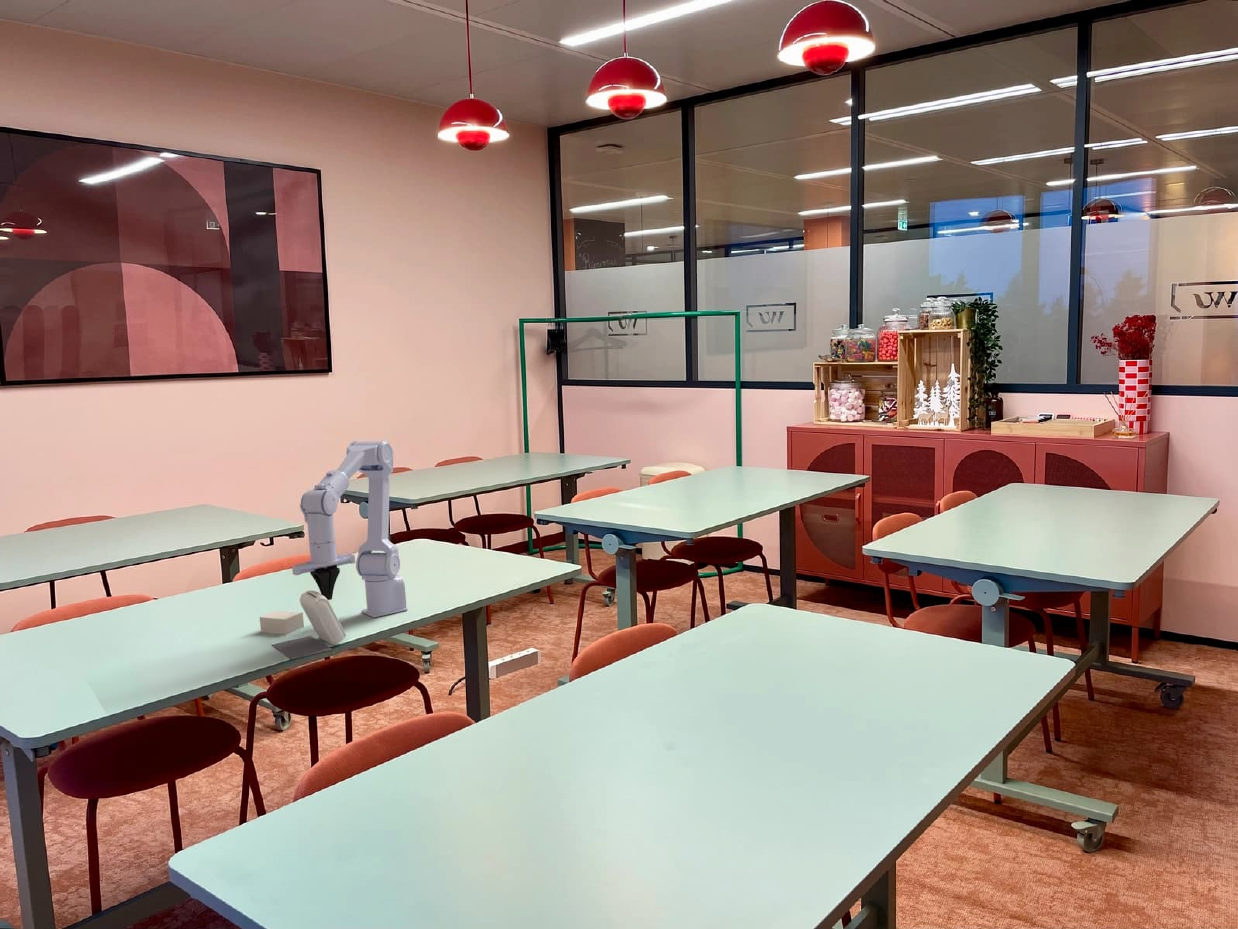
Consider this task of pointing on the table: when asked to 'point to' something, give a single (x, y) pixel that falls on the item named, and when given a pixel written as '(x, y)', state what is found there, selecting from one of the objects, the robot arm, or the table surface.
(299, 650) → the mat
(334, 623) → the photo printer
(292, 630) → the card box
